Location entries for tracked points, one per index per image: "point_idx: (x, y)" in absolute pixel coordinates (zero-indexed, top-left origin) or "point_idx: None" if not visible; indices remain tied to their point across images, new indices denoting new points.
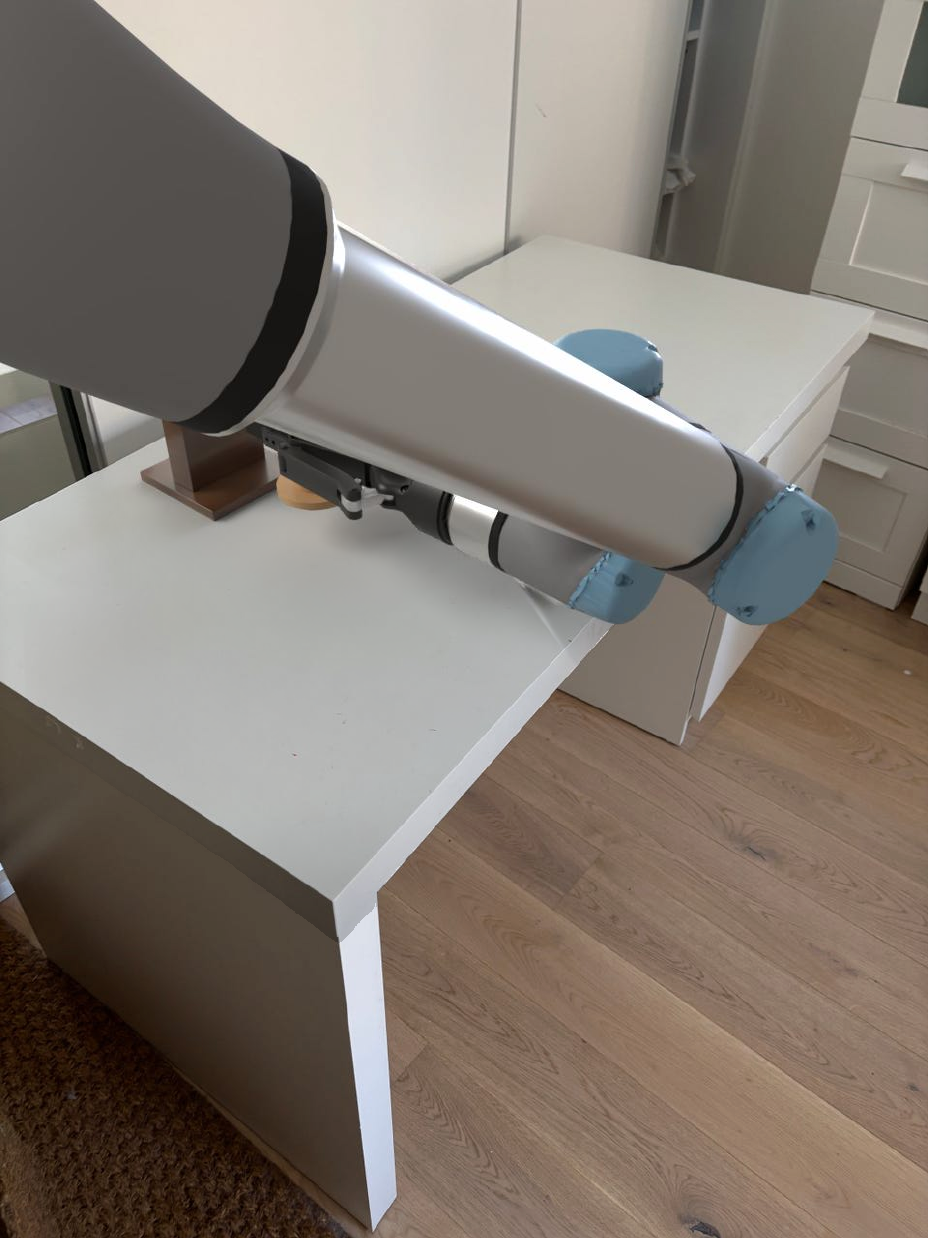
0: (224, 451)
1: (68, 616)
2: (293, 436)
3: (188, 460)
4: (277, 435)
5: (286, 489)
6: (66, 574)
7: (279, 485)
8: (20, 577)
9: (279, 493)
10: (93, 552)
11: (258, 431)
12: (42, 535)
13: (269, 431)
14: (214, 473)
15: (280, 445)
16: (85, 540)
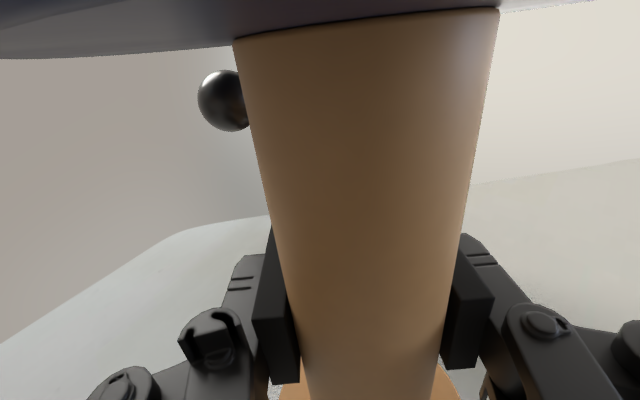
0: None
1: (27, 366)
2: (203, 359)
3: None
4: (232, 302)
5: (299, 385)
6: (117, 302)
7: (301, 362)
8: (104, 282)
9: (283, 384)
10: (162, 289)
11: None
12: (173, 248)
13: (238, 277)
14: None
15: (122, 378)
16: (179, 271)
